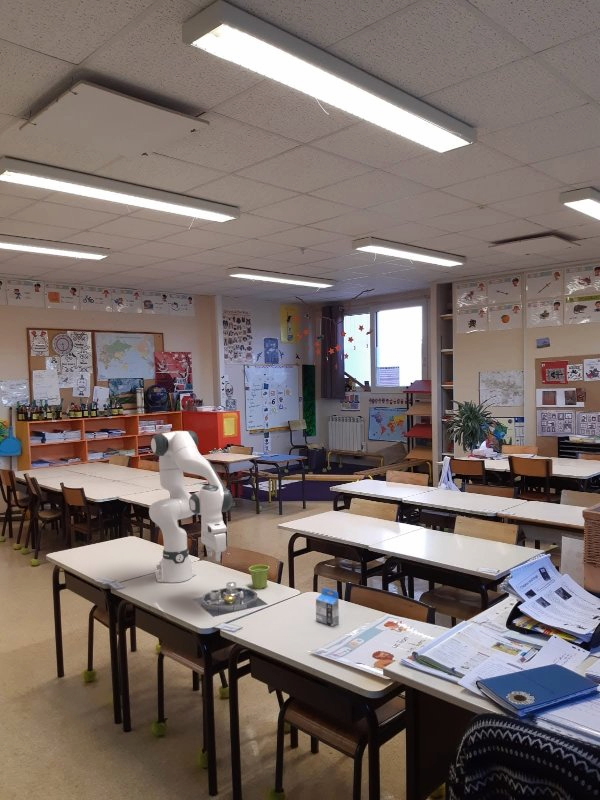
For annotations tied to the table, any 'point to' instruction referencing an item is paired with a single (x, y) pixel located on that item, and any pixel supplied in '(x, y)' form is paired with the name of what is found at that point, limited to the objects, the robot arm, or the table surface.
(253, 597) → the carrier
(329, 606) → the label tape box
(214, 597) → the planet gear
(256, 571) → the plant pot
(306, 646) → the table surface
